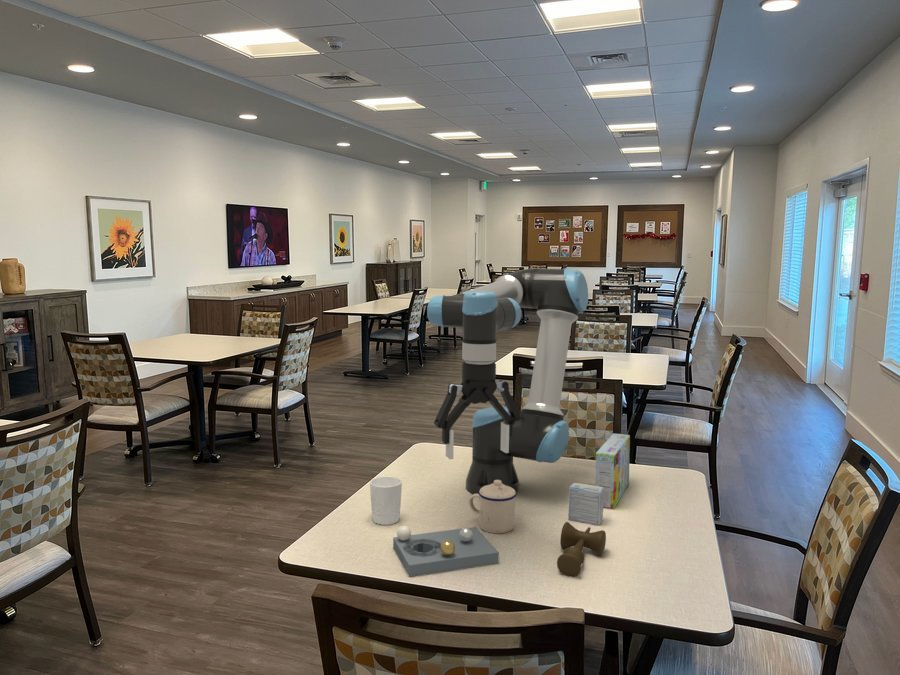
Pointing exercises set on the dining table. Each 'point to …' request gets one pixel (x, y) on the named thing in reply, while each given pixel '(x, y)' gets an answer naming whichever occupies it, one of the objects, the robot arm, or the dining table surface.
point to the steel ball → (466, 534)
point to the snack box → (613, 468)
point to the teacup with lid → (495, 507)
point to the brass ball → (447, 548)
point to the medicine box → (586, 503)
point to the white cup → (386, 499)
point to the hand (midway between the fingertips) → (477, 454)
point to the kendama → (578, 548)
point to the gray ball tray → (427, 558)
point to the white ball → (404, 533)
